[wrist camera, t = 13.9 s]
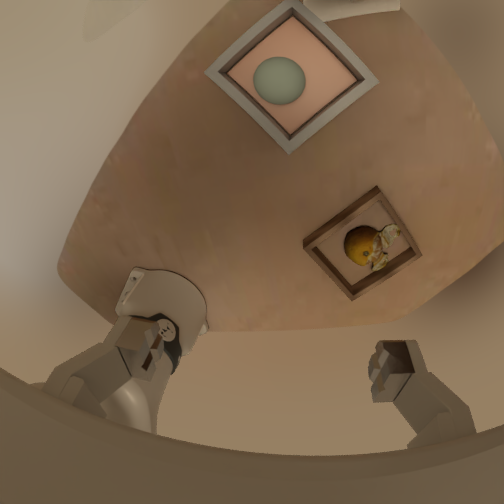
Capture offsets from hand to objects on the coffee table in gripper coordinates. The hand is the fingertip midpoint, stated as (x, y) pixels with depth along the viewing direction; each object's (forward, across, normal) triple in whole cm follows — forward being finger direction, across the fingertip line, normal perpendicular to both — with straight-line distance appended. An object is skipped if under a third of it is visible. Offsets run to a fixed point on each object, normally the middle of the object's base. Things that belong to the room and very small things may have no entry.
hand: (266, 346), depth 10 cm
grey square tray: (+31, 0, -11) cm, 33 cm away
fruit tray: (+32, -13, +12) cm, 36 cm away
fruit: (+32, -14, +12) cm, 37 cm away
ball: (+28, +1, -10) cm, 30 cm away
